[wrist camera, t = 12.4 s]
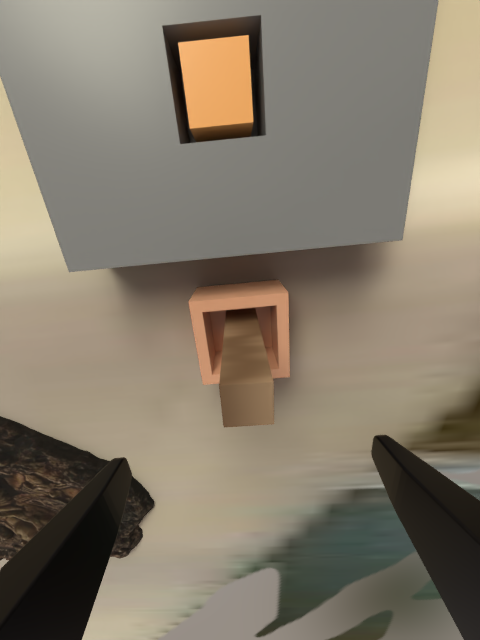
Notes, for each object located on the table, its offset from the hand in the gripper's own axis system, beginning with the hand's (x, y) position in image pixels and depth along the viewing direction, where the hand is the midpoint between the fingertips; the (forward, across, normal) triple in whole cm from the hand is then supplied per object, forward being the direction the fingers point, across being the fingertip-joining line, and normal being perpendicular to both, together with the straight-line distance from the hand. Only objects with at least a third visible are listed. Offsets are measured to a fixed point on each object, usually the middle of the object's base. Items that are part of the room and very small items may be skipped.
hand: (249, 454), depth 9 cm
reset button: (+12, 0, -14) cm, 19 cm away
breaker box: (+13, 0, -14) cm, 19 cm away
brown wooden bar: (+12, 0, 0) cm, 13 cm away
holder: (+13, 0, 0) cm, 13 cm away
